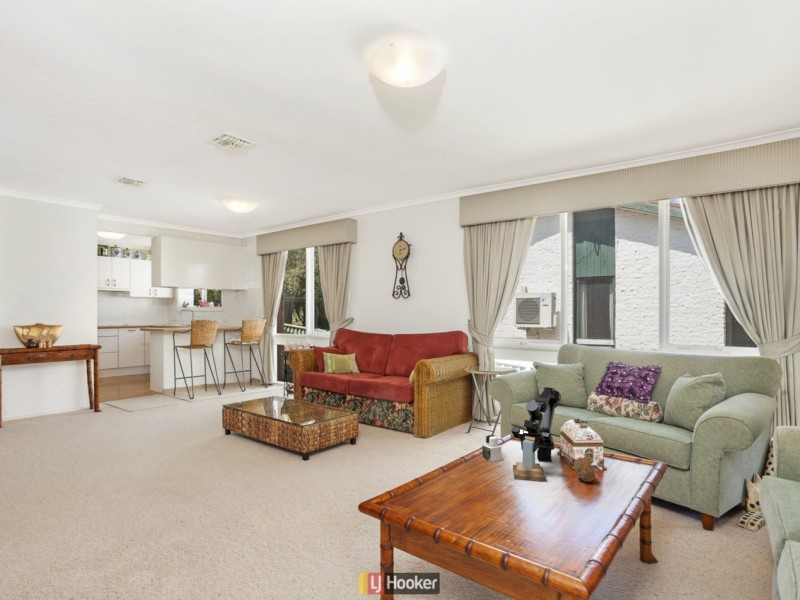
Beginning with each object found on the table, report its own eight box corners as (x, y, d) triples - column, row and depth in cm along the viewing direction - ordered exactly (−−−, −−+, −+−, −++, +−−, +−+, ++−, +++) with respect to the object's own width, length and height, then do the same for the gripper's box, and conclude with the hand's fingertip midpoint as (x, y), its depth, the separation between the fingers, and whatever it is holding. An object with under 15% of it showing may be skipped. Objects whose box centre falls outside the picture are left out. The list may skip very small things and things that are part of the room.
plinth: (542, 470, 222) (542, 462, 222) (546, 481, 208) (546, 472, 208) (512, 468, 225) (512, 460, 225) (514, 479, 211) (514, 470, 211)
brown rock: (598, 477, 213) (598, 456, 213) (593, 486, 203) (593, 463, 203) (577, 473, 218) (577, 452, 219) (571, 482, 208) (571, 459, 208)
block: (525, 464, 219) (525, 439, 220) (535, 466, 217) (535, 440, 217) (522, 467, 216) (522, 441, 216) (532, 468, 213) (532, 443, 213)
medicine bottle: (482, 457, 241) (482, 435, 241) (493, 456, 244) (493, 433, 244) (490, 462, 234) (490, 438, 235) (501, 460, 237) (501, 436, 238)
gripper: (512, 410, 225) (504, 438, 216) (551, 415, 215) (544, 445, 206) (518, 423, 232) (510, 450, 222) (555, 428, 221) (549, 458, 212)
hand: (527, 451), depth 215 cm, fingers open, 5 cm apart
